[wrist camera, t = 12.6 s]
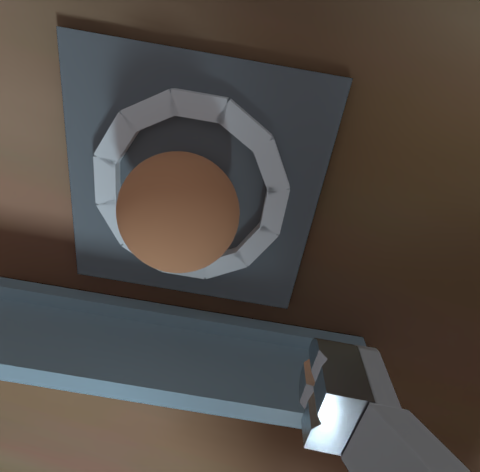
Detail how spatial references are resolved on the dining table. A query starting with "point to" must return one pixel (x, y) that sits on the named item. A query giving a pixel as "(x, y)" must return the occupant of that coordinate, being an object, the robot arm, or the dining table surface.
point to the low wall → (154, 352)
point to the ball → (177, 212)
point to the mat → (201, 143)
